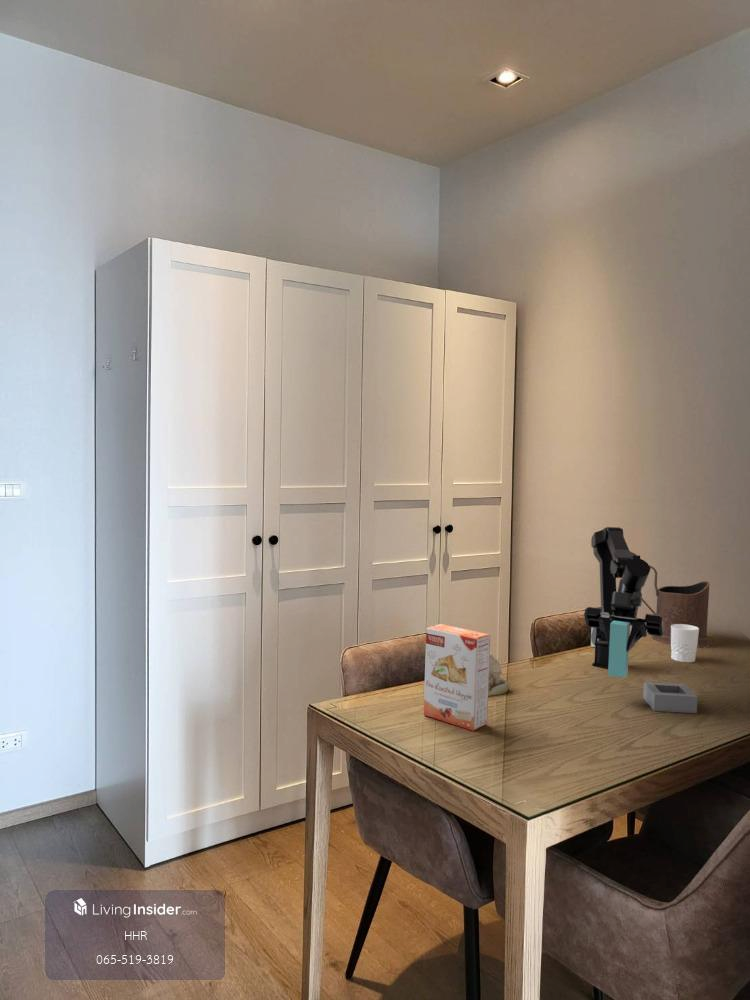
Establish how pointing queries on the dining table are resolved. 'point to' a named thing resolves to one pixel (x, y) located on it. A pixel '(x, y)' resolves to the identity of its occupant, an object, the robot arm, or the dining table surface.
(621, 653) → the plug
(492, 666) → the ceramic model
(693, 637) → the white cup
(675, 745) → the dining table surface
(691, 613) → the rusty brown pitcher
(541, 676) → the dining table surface
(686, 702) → the socket
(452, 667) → the cracker box
